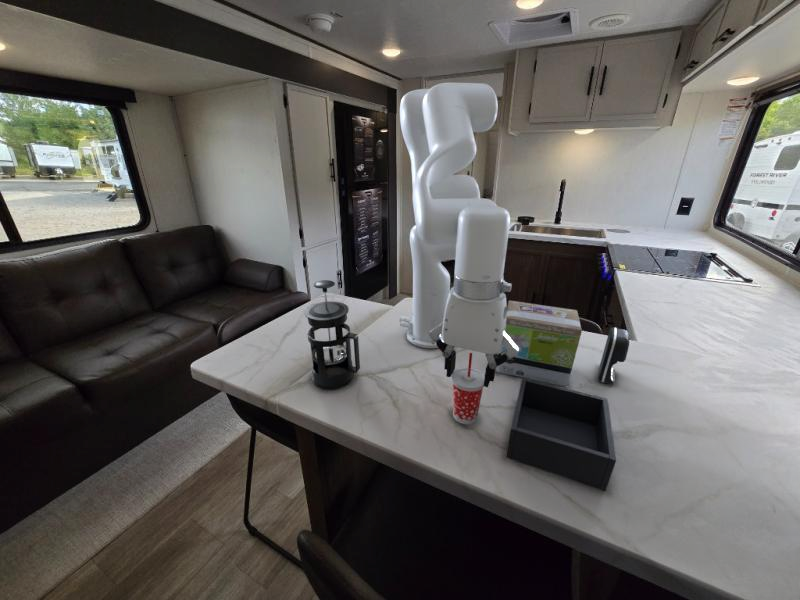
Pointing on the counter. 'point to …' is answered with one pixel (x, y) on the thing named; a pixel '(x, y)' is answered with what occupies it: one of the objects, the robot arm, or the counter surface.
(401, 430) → the counter surface
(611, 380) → the battery charger
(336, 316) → the french press
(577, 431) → the black open box
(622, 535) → the counter surface
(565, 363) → the tea box
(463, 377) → the beverage cup
